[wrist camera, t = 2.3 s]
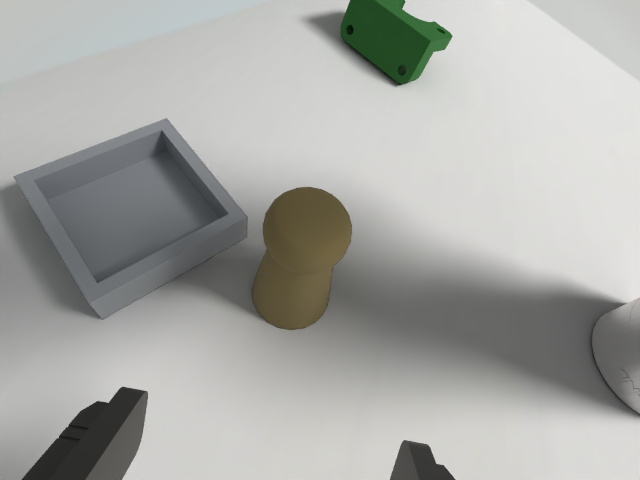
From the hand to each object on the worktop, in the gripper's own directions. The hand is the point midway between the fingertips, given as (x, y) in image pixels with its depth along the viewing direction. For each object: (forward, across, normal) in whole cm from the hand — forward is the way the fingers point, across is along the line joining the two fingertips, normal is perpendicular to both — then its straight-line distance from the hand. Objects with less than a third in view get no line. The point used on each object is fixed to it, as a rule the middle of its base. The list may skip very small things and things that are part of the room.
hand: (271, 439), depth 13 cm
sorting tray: (+22, +13, 0) cm, 25 cm away
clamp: (+43, -6, -21) cm, 48 cm away
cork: (+19, 0, +3) cm, 19 cm away
